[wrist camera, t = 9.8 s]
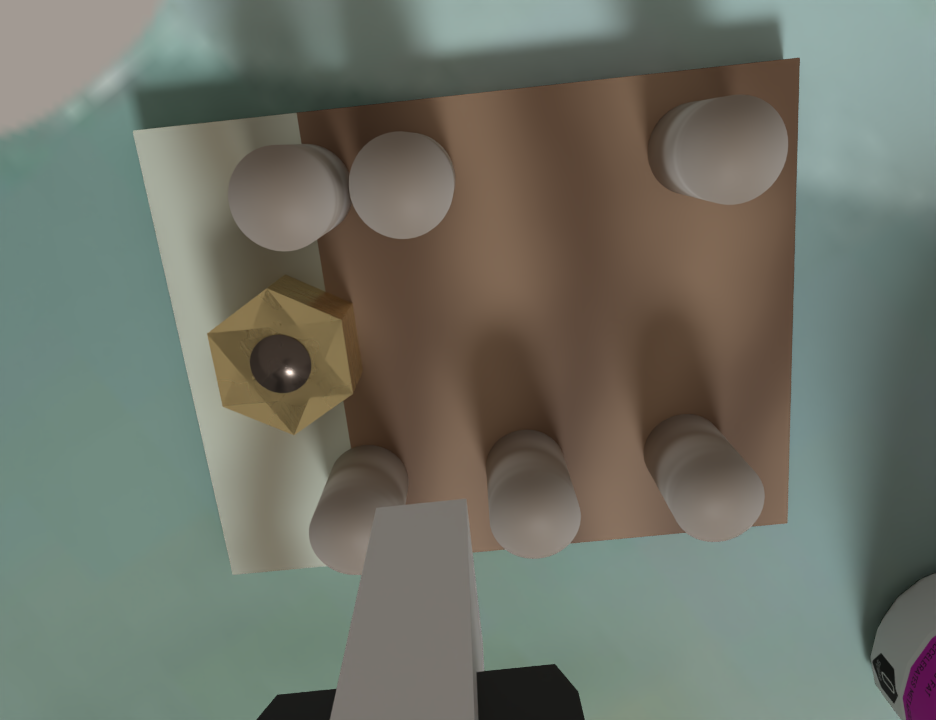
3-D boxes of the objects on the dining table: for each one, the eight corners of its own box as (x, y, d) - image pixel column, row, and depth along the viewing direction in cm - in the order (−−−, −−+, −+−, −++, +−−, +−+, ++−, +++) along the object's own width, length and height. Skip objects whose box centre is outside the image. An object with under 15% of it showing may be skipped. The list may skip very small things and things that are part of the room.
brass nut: (250, 414, 27) (229, 442, 25) (223, 280, 26) (198, 295, 23) (367, 403, 27) (358, 429, 25) (347, 267, 26) (334, 281, 23)
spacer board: (241, 558, 30) (197, 640, 25) (148, 131, 25) (70, 129, 20) (774, 508, 30) (837, 582, 25) (784, 61, 25) (864, 41, 20)
